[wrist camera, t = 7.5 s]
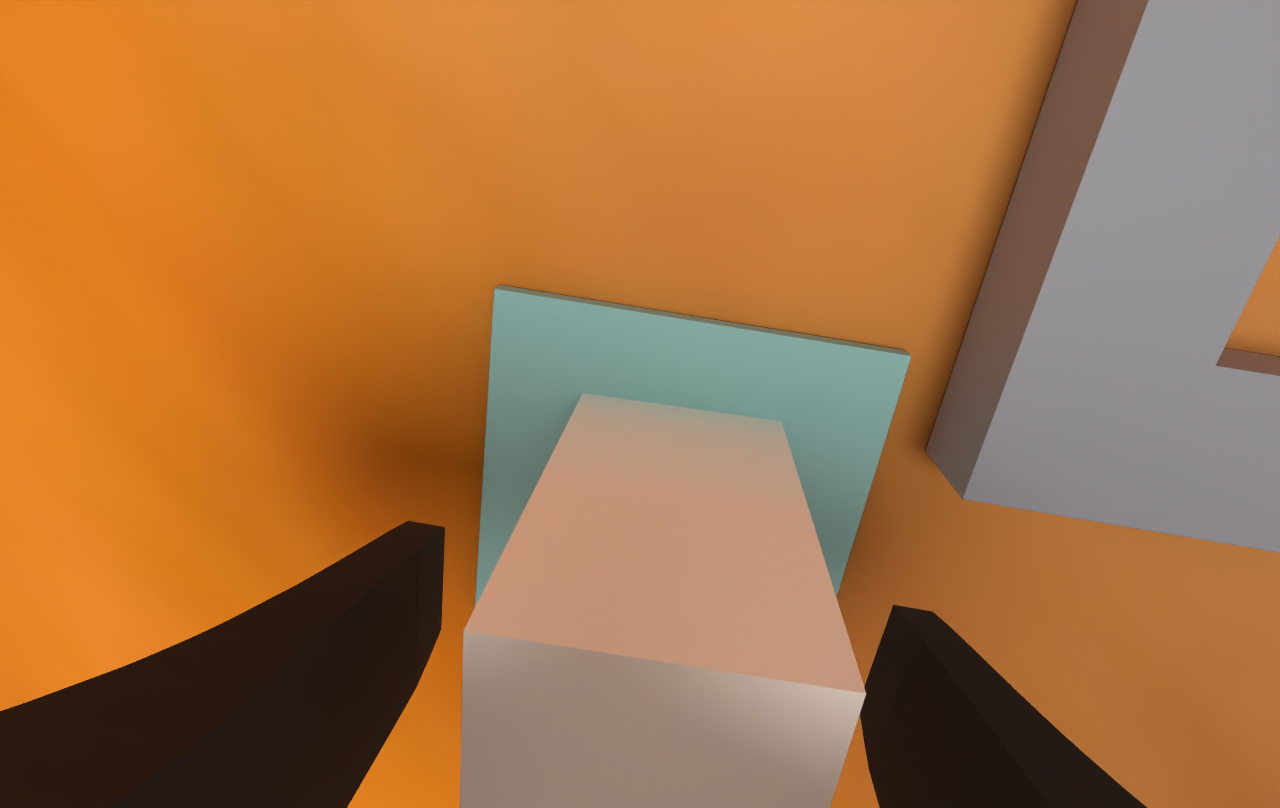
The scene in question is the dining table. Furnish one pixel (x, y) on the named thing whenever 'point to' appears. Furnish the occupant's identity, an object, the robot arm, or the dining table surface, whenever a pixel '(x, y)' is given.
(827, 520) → the pad
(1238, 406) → the pocket board
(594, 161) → the dining table surface
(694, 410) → the block
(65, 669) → the dining table surface
